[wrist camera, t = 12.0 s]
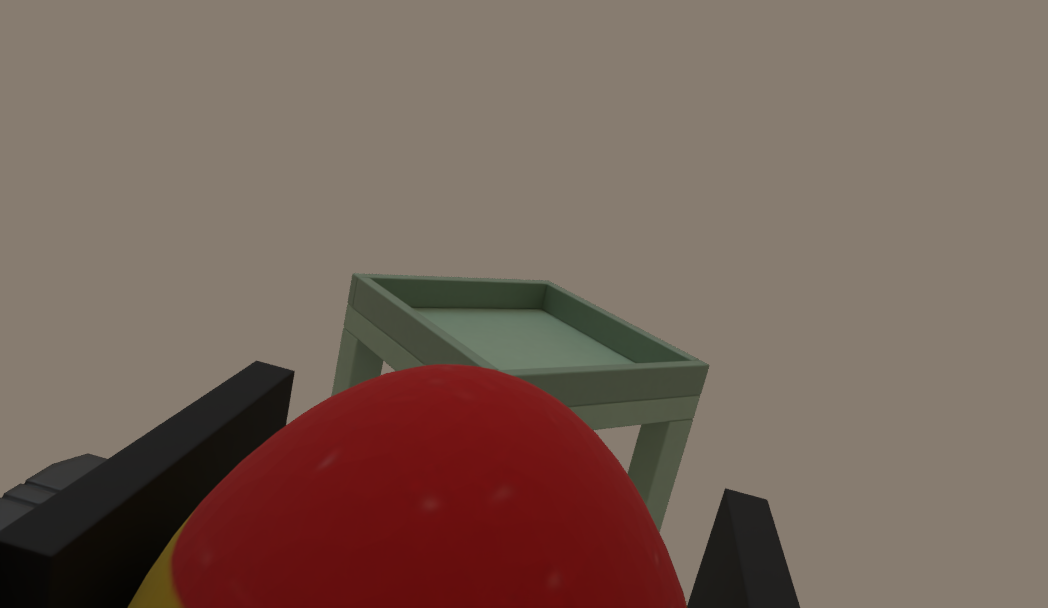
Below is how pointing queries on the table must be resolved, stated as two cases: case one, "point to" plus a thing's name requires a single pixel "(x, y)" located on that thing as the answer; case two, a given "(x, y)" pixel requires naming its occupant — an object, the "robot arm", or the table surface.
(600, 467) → the decorative egg
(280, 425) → the robot arm
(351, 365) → the stand
